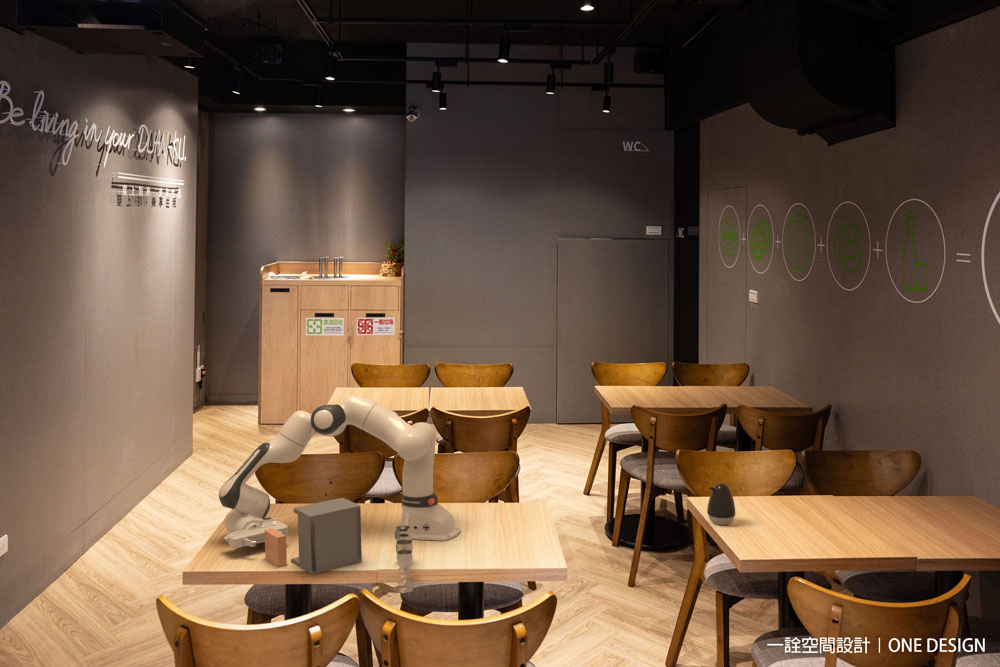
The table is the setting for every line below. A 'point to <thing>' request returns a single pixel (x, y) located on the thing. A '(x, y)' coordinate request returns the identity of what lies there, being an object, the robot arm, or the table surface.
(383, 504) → the table surface
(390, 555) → the table surface
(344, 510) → the overhang dock
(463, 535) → the table surface
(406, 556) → the goblet set
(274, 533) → the tile panel
